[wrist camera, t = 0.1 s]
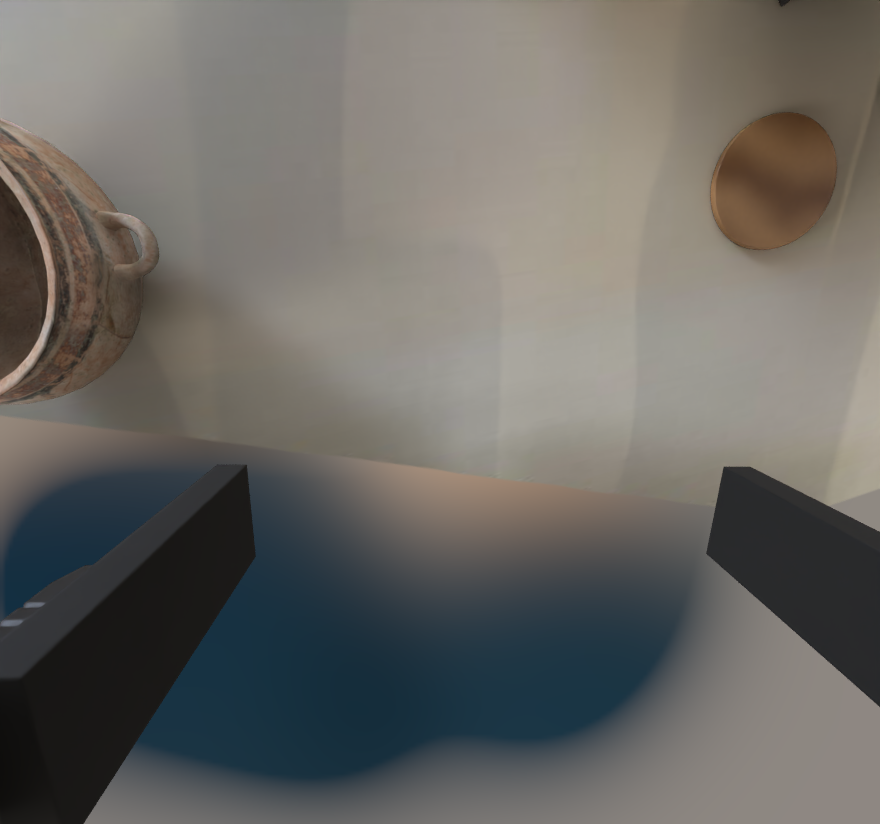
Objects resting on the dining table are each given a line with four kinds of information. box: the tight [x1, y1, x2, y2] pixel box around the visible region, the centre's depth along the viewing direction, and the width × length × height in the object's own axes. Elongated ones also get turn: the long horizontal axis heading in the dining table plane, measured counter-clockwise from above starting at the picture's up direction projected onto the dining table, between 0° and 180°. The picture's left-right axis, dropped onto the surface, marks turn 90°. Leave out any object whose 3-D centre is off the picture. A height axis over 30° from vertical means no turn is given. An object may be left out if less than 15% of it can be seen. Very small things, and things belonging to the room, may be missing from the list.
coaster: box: [711, 112, 837, 250], centre depth 36 cm, size 10×10×1 cm
